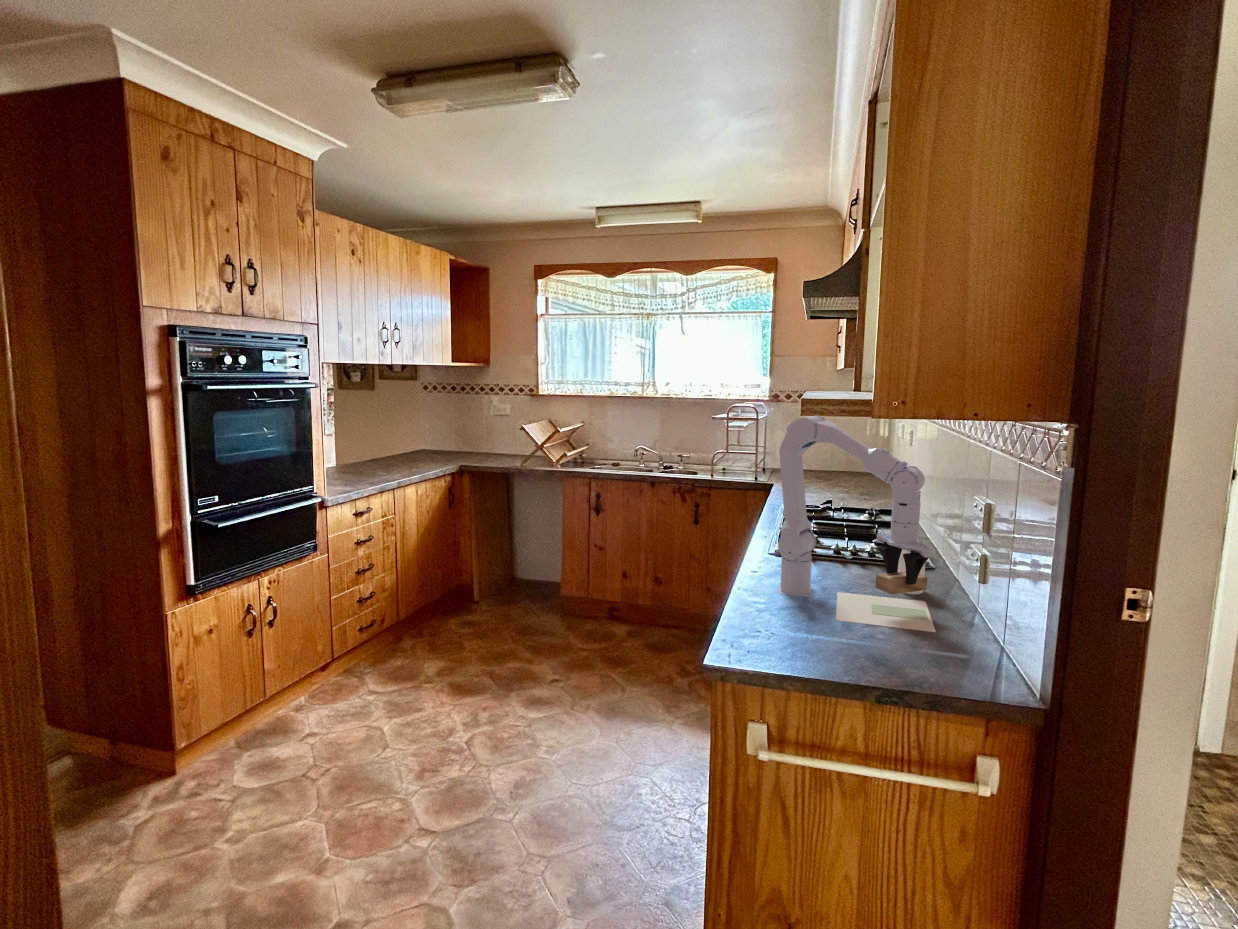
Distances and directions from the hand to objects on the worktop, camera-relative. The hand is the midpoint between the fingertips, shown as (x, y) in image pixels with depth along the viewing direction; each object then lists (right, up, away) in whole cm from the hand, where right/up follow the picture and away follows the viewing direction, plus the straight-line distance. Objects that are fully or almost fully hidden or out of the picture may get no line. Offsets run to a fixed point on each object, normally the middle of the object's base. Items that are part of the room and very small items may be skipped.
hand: (901, 580), depth 149 cm
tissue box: (0, -2, 0) cm, 2 cm away
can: (+9, -6, +17) cm, 20 cm away
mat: (-3, -8, +2) cm, 9 cm away
